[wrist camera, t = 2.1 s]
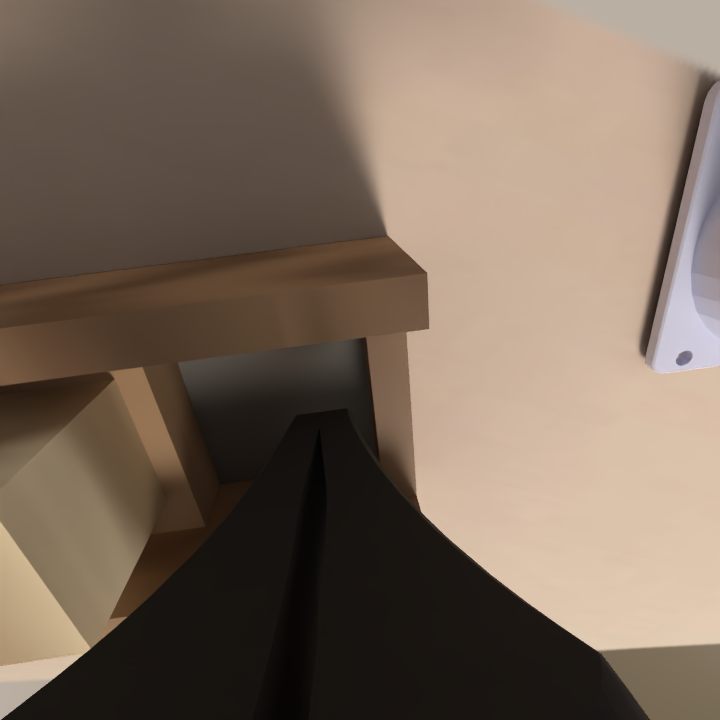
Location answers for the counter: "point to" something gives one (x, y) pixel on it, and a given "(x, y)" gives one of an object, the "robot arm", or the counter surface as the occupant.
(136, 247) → the counter surface
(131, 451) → the birch block
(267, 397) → the channel
